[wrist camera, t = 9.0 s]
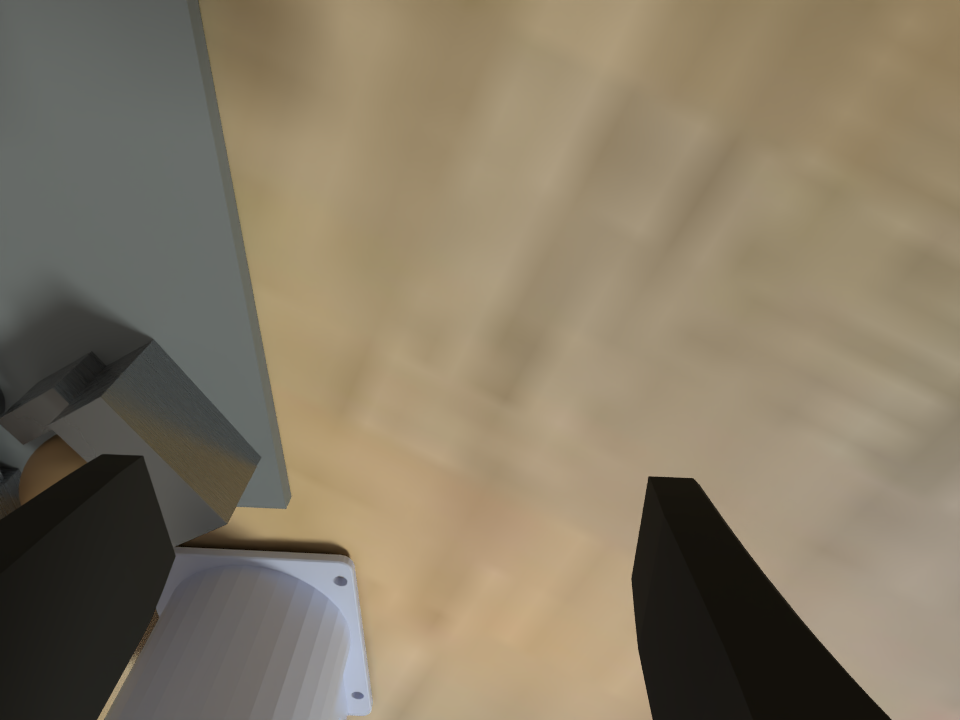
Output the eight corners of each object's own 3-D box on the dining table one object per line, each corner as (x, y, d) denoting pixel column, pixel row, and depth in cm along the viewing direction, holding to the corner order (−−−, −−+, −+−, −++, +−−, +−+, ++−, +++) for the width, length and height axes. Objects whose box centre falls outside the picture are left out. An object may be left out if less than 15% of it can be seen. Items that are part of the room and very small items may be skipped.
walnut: (184, 491, 24) (133, 574, 20) (82, 486, 24) (16, 568, 21) (159, 404, 22) (98, 481, 19) (48, 400, 22) (-31, 476, 19)
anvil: (273, 470, 23) (240, 537, 20) (175, 513, 24) (133, 582, 22) (139, 323, 20) (83, 379, 18) (38, 381, 21) (-29, 442, 19)
